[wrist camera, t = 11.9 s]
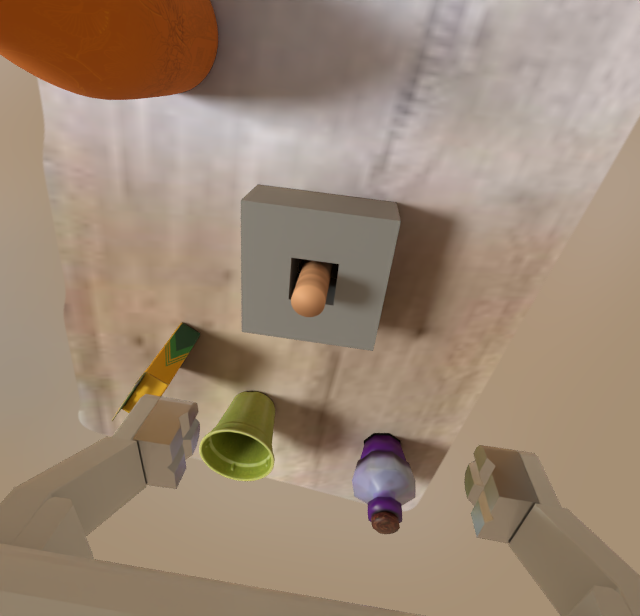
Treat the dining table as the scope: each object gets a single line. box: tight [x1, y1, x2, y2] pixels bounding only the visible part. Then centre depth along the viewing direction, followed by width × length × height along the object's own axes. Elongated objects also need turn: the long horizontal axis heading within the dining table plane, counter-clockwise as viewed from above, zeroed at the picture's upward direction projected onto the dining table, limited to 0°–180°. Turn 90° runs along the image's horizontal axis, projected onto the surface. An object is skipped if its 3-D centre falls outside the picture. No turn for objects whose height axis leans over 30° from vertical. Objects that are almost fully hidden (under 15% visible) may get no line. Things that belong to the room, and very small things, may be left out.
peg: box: [291, 260, 333, 317], centre depth 38 cm, size 3×3×10 cm
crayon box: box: [112, 323, 200, 421], centre depth 46 cm, size 7×3×12 cm, turn 143°
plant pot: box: [199, 392, 275, 481], centre depth 51 cm, size 9×9×9 cm
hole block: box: [241, 185, 401, 351], centre depth 39 cm, size 14×14×6 cm
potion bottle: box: [352, 433, 415, 534], centre depth 51 cm, size 9×9×12 cm
